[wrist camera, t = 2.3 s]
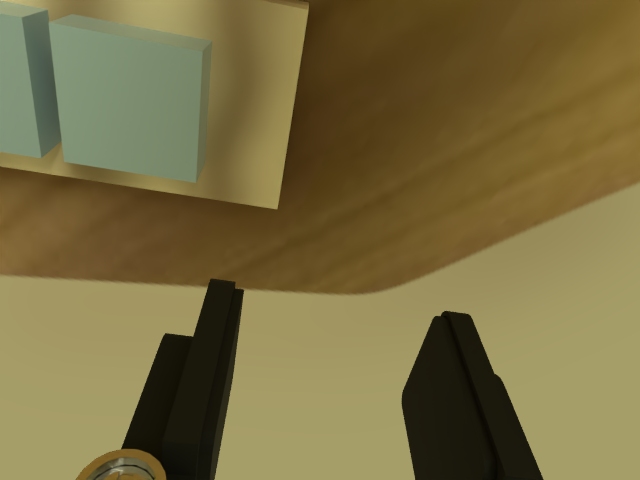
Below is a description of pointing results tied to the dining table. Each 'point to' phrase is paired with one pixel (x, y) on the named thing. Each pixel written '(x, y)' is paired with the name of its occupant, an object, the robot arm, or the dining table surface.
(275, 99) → the board
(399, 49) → the dining table surface
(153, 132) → the tile
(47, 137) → the tile
